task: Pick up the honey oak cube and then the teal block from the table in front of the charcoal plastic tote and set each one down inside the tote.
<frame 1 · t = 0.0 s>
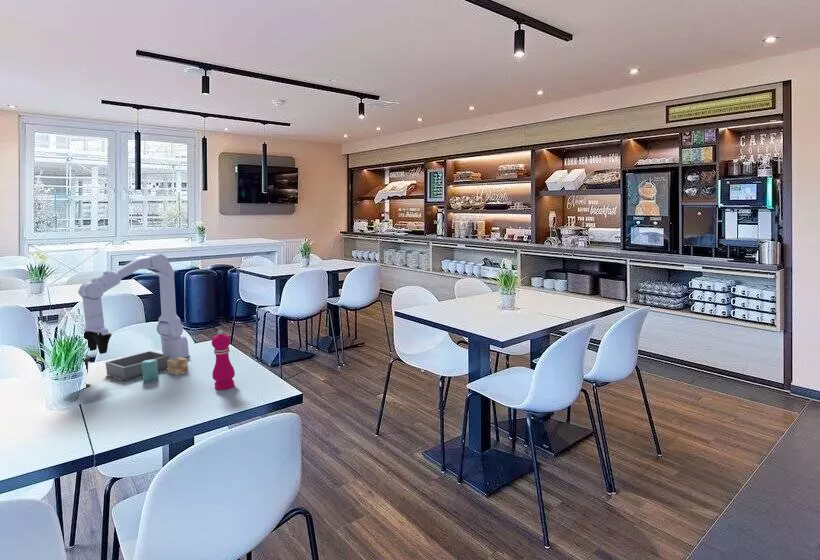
hand: (98, 351, 187), 10 cm above the table, tool pointing down, fingers open, 7 cm apart
pepper mill: (224, 387, 176), on the table
oak cube: (178, 372, 193), on the table
tote: (139, 371, 195), on the table
teal block: (151, 380, 185), on the table
sundae: (82, 387, 179), on the table
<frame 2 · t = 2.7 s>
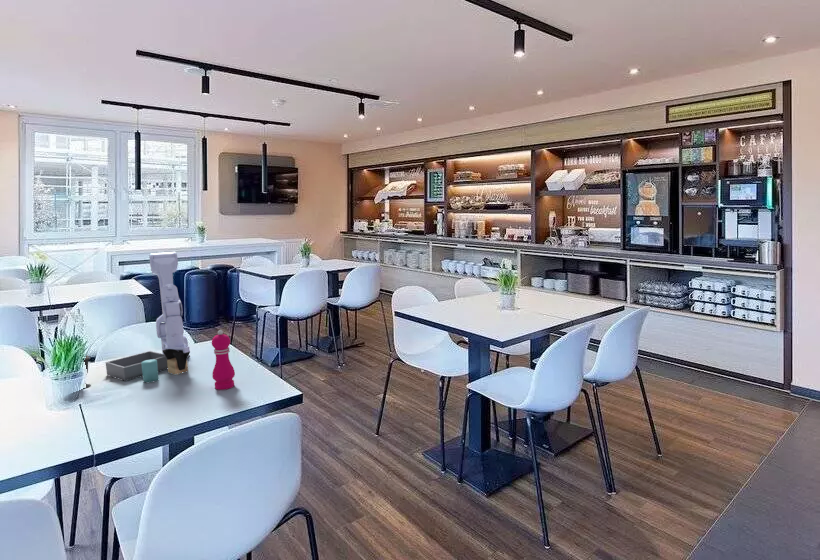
hand: (177, 368, 193), 1 cm above the table, tool pointing down, fingers closed on oak cube, 5 cm apart
oak cube: (178, 372, 193), on the table, touching gripper
everything else where it was.
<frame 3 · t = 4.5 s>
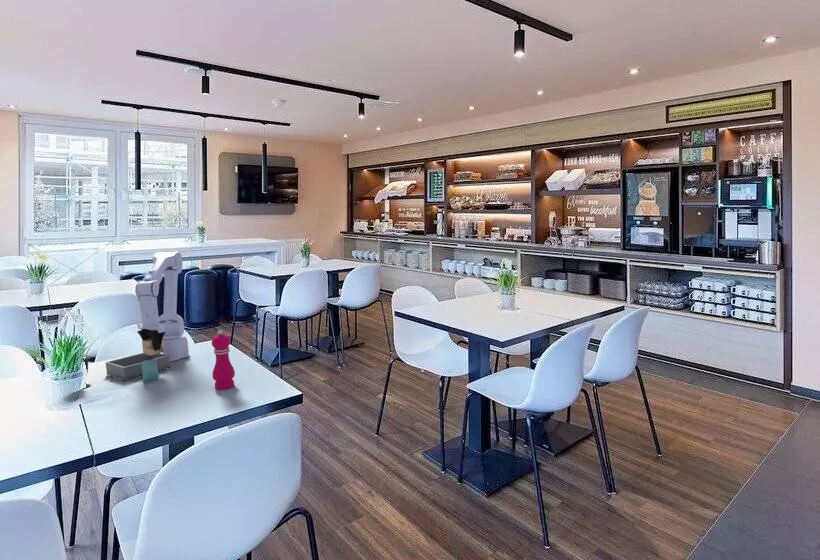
hand: (153, 349, 191), 9 cm above the table, tool pointing down, fingers closed on oak cube, 5 cm apart
oak cube: (153, 352, 191), point 8 cm above the table, touching gripper
everything else where it was.
when the fingers open (4 cm above the table, at t = 6.6 s): oak cube drops 2 cm, resting on tote.
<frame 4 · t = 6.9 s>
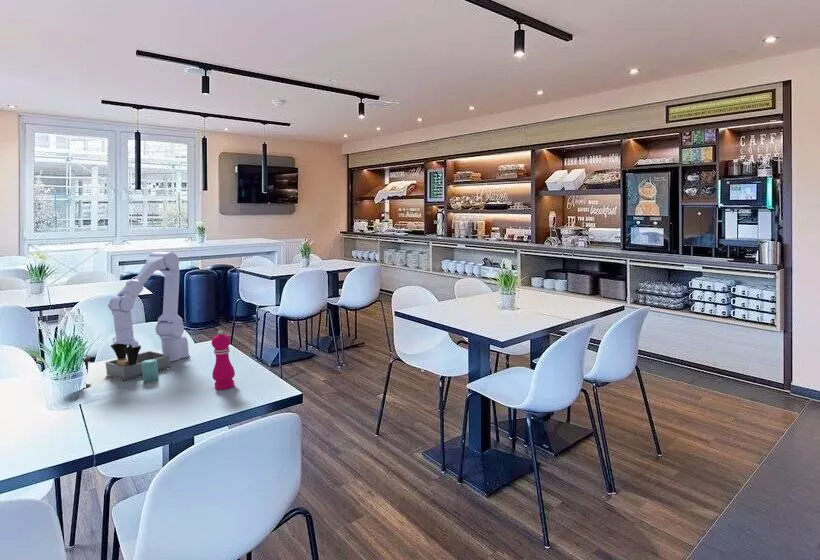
hand: (127, 363, 191), 4 cm above the table, tool pointing down, fingers open, 7 cm apart
oak cube: (128, 372, 191), point 1 cm above the table, touching tote
everything else where it was.
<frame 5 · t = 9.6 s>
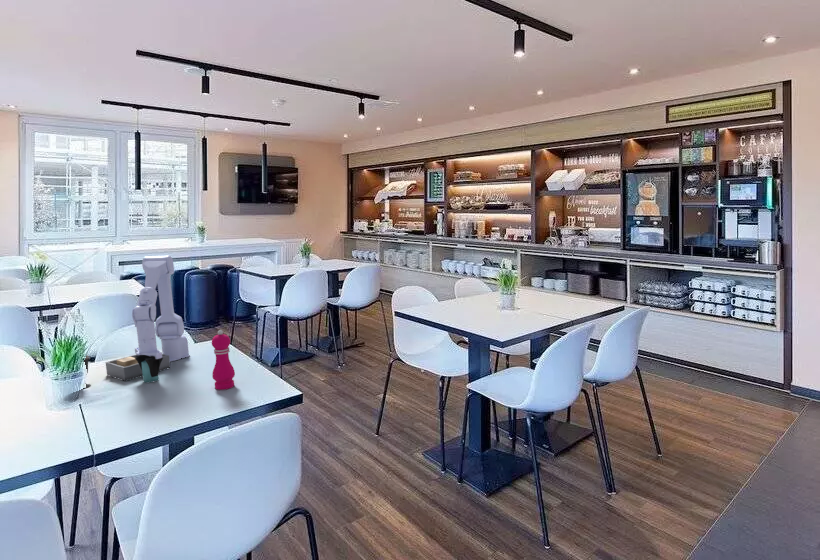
hand: (150, 375, 184), 2 cm above the table, tool pointing down, fingers closed on teal block, 5 cm apart
teal block: (151, 380, 185), on the table, touching gripper
everything else where it was.
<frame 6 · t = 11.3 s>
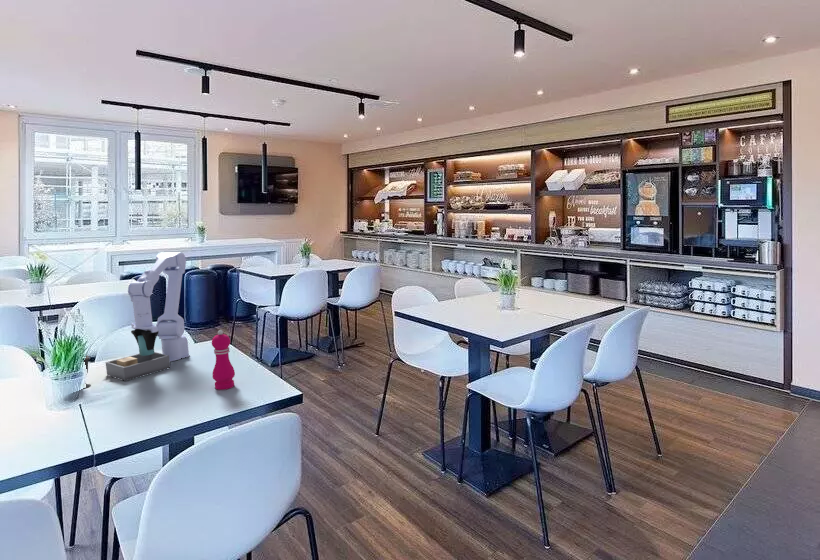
hand: (146, 348, 192), 9 cm above the table, tool pointing down, fingers closed on teal block, 5 cm apart
teal block: (147, 353, 192), point 7 cm above the table, touching gripper
everything else where it was.
when the fingers open (5 cm above the table, at t = 13.0 s): teal block drops 2 cm, resting on tote.
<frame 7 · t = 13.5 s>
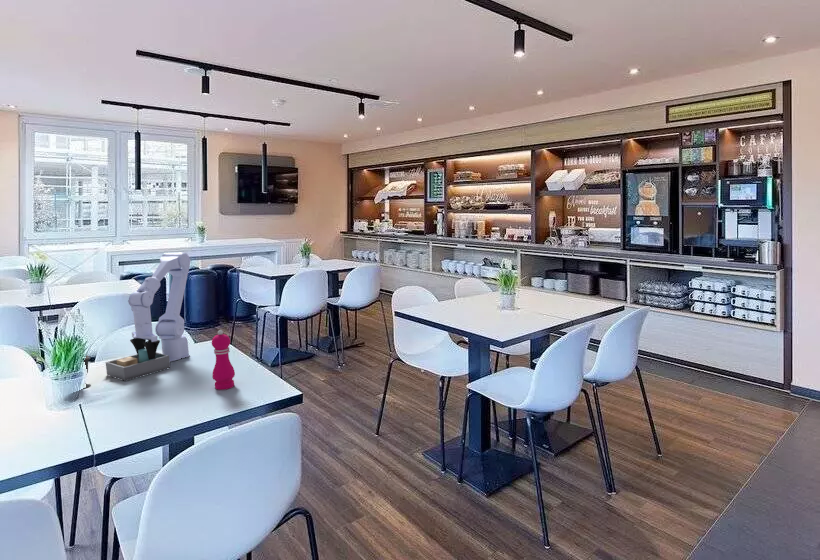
hand: (146, 357, 196), 5 cm above the table, tool pointing down, fingers open, 7 cm apart
teal block: (147, 367, 197), point 1 cm above the table, touching tote
everything else where it was.
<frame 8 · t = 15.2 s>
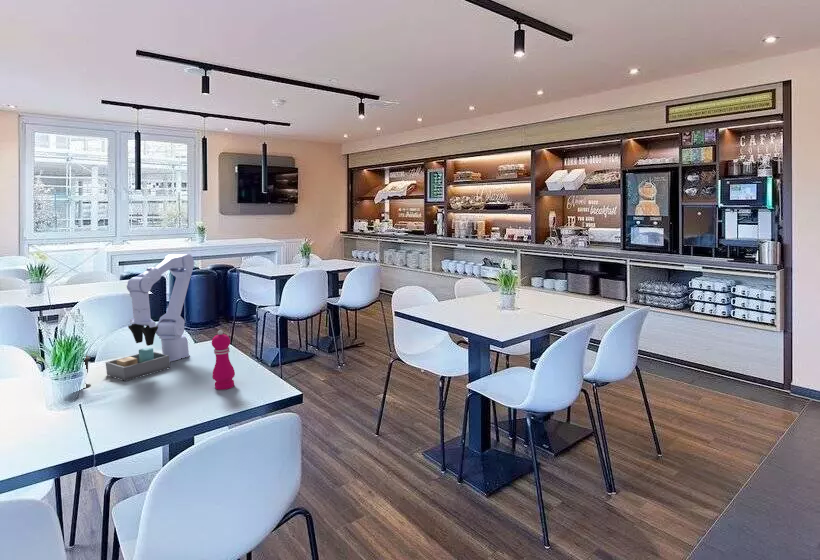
hand: (144, 343, 195), 10 cm above the table, tool pointing down, fingers open, 7 cm apart
nothing on the table moved.
at the end: oak cube inside the target area on the tote (4.1 cm from its centre), point 1.0 cm above the tote's base; teal block inside the target area on the tote (2.9 cm from its centre), point 1.1 cm above the tote's base; the gripper is holding nothing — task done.
